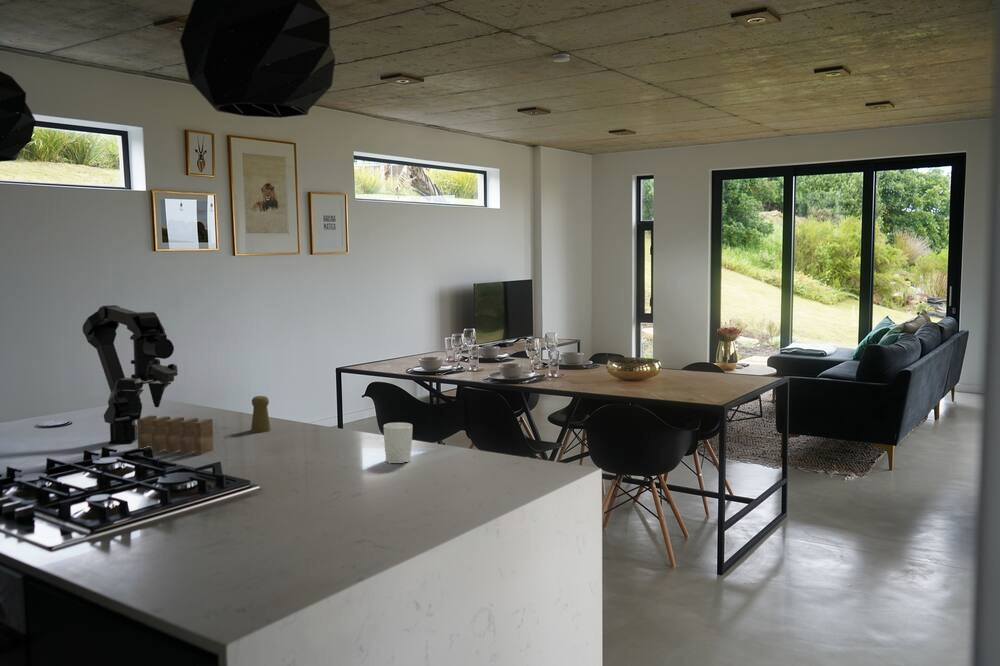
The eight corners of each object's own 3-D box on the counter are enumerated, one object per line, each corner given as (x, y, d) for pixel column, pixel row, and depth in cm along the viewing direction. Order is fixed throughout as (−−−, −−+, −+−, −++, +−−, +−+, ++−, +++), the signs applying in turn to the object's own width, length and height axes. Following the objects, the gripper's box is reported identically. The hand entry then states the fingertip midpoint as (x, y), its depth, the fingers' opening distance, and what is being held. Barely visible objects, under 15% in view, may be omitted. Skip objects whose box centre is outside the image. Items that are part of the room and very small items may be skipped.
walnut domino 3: (166, 452, 226) (165, 421, 225) (178, 447, 232) (177, 417, 231) (172, 452, 225) (171, 421, 225) (185, 447, 231) (184, 417, 230)
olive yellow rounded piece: (267, 432, 252) (266, 398, 251) (248, 432, 252) (247, 397, 251) (273, 428, 258) (272, 394, 257) (254, 428, 258) (253, 394, 257)
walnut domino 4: (180, 453, 225) (179, 422, 224) (192, 448, 231) (192, 417, 230) (186, 453, 225) (185, 422, 224) (199, 448, 230) (198, 418, 229)
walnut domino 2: (152, 451, 227) (151, 420, 226) (165, 446, 233) (164, 416, 232) (158, 451, 226) (157, 420, 225) (171, 447, 232) (170, 416, 231)
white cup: (377, 462, 217) (377, 426, 216) (394, 456, 224) (394, 421, 223) (401, 466, 214) (401, 429, 213) (418, 459, 221) (418, 424, 220)
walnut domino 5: (194, 454, 224) (193, 422, 223) (206, 449, 230) (206, 418, 229) (201, 454, 224) (200, 423, 223) (213, 449, 229) (212, 419, 229)
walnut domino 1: (138, 450, 228) (137, 419, 227) (151, 445, 234) (150, 415, 233) (144, 450, 227) (143, 419, 226) (157, 446, 233) (156, 415, 232)
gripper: (149, 361, 217) (151, 417, 219) (189, 353, 235) (191, 405, 237) (113, 359, 219) (115, 415, 221) (155, 352, 238) (157, 403, 239)
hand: (146, 410), depth 229 cm, fingers open, 9 cm apart
